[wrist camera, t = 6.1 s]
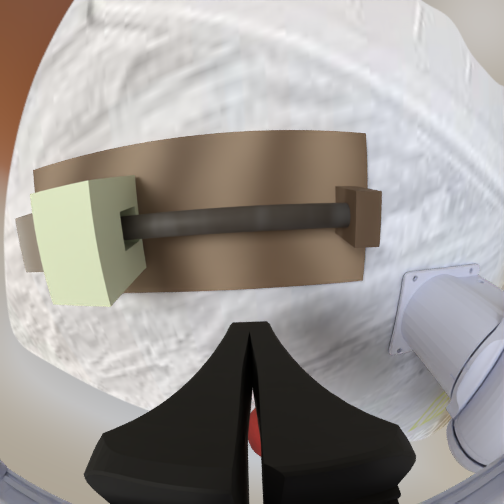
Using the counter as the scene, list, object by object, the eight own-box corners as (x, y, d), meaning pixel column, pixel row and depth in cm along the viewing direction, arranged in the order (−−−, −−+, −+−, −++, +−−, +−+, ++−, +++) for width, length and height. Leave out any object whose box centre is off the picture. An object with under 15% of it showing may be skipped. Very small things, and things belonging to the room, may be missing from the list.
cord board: (359, 134, 16) (396, 126, 12) (357, 275, 19) (387, 306, 14) (40, 169, 16) (-2, 174, 11) (60, 287, 19) (27, 314, 14)
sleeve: (134, 175, 15) (88, 180, 10) (146, 267, 17) (110, 306, 12) (83, 184, 15) (30, 194, 10) (96, 269, 17) (53, 304, 12)
